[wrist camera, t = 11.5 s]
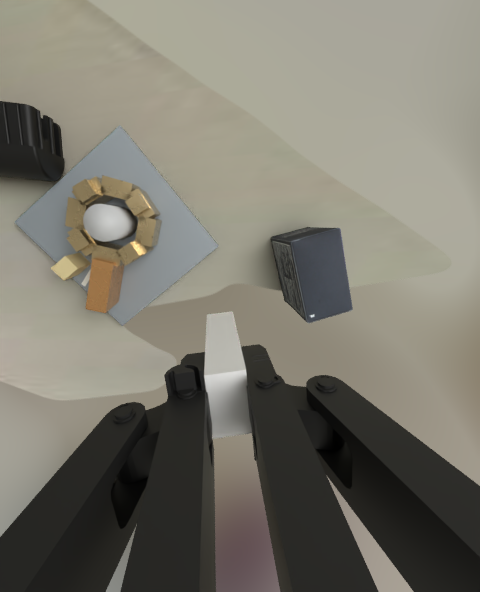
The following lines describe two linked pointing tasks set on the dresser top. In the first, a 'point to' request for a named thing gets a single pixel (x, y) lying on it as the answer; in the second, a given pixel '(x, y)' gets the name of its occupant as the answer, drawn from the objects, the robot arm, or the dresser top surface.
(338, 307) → the small box
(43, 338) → the dresser top surface
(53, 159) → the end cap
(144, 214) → the gold ring with handle
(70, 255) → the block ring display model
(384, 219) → the dresser top surface
